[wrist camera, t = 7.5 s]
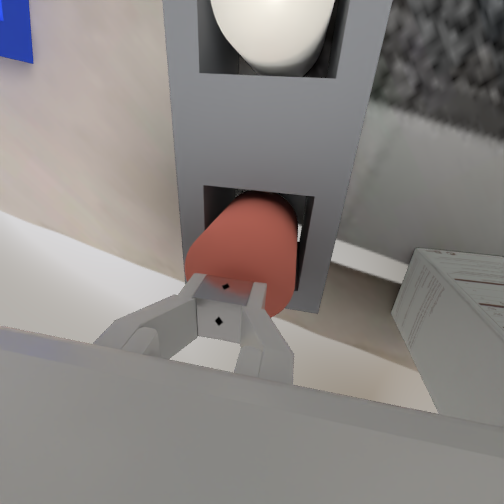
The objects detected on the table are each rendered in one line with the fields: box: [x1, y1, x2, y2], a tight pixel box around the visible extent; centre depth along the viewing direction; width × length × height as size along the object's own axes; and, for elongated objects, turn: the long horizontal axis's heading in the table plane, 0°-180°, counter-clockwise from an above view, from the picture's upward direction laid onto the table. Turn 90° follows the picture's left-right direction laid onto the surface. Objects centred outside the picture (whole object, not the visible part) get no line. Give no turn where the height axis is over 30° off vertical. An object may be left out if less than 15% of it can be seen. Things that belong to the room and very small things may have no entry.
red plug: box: [185, 190, 298, 318], centre depth 14 cm, size 5×5×6 cm
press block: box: [162, 0, 393, 314], centre depth 15 cm, size 9×20×8 cm, turn 176°
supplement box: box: [391, 248, 504, 427], centre depth 16 cm, size 7×7×13 cm
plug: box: [211, 0, 335, 77], centre depth 12 cm, size 5×5×6 cm
